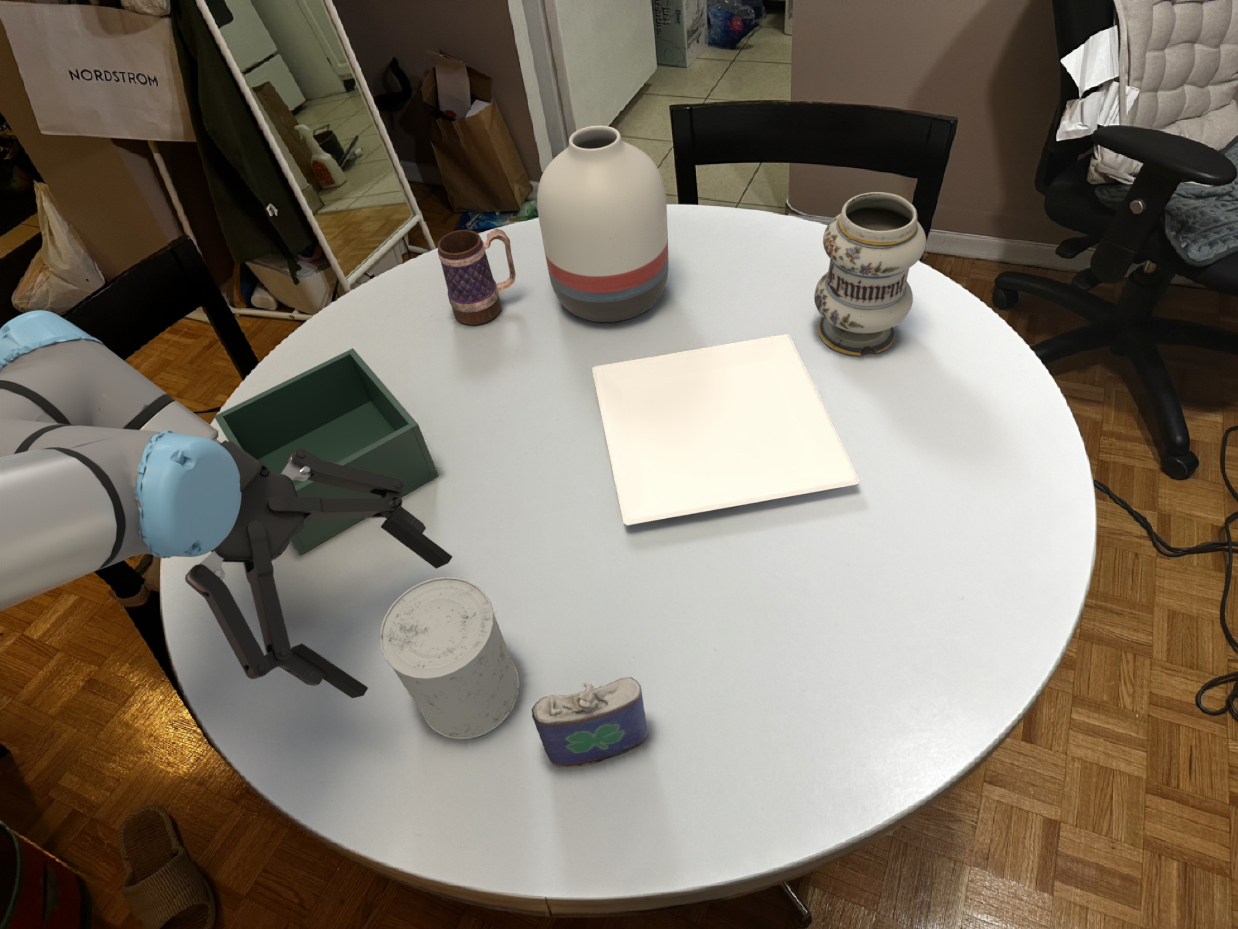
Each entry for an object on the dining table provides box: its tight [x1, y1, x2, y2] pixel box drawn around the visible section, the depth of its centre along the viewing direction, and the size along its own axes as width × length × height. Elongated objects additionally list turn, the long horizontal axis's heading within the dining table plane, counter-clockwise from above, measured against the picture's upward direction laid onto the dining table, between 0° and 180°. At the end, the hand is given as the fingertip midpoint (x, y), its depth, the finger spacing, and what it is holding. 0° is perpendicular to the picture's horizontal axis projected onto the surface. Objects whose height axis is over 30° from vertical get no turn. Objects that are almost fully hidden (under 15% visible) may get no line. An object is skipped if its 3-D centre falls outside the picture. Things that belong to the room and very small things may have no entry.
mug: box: [437, 228, 516, 326], centre depth 109 cm, size 10×7×12 cm
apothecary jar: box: [813, 191, 927, 357], centre depth 97 cm, size 12×12×18 cm
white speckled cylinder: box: [379, 576, 520, 740], centre depth 70 cm, size 10×10×12 cm
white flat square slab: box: [591, 333, 861, 526], centre depth 93 cm, size 26×26×2 cm
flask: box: [531, 676, 649, 768], centre depth 66 cm, size 9×3×11 cm, turn 103°
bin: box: [213, 347, 439, 556], centre depth 91 cm, size 18×18×9 cm
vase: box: [536, 125, 669, 323], centre depth 104 cm, size 17×17×24 cm
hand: (405, 624), depth 68 cm, fingers open, 13 cm apart
